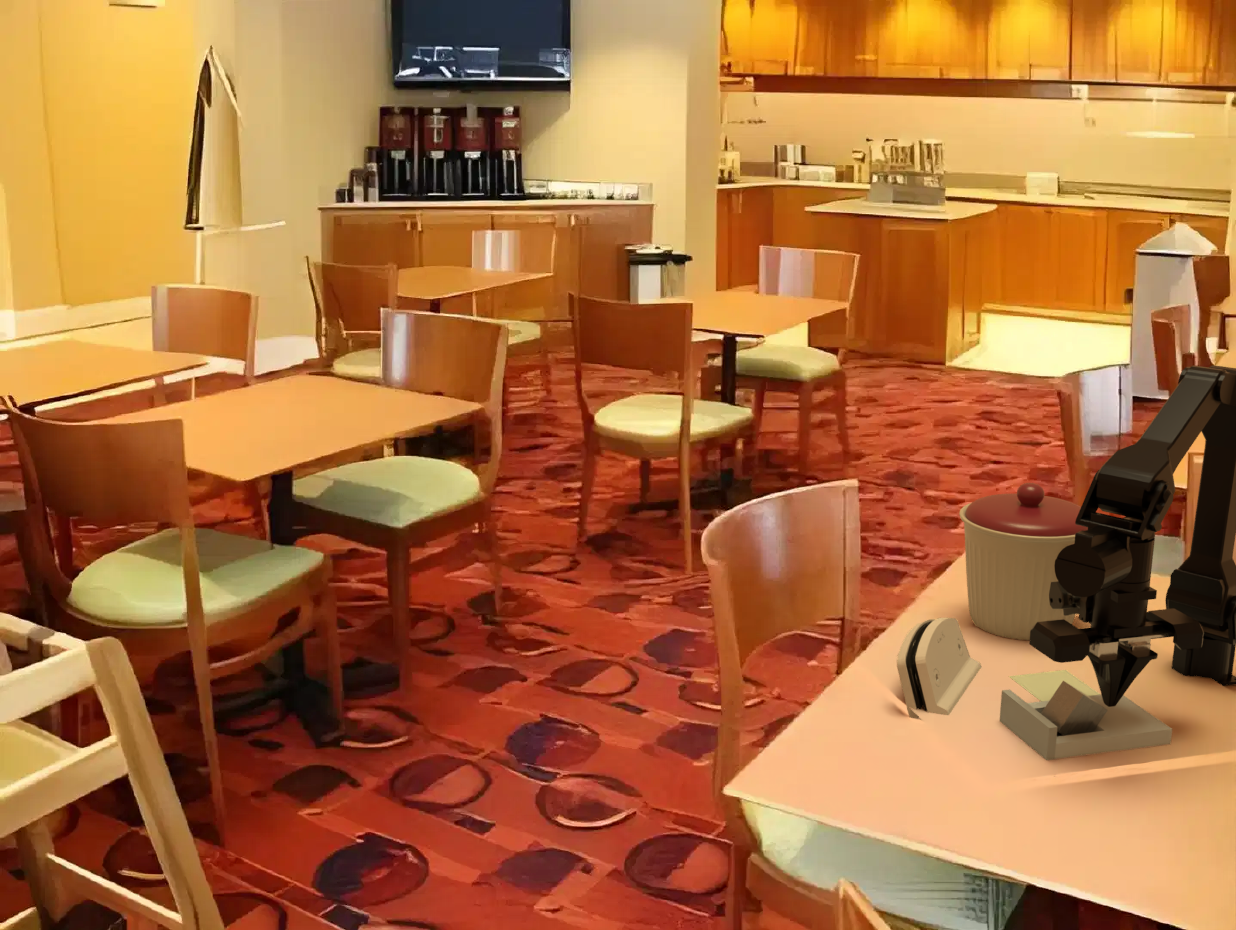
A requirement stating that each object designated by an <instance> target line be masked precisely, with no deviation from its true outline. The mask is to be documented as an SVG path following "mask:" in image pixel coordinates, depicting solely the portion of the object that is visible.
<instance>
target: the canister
mask: <svg viewBox="0 0 1236 930" xmlns="http://www.w3.org/2000/svg"><path fill="white" fill-rule="evenodd" d="M1081 506H1082V505H1078V504H1076V503H1074V502H1072V501H1069V500H1065V499H1062V498H1059V497H1053V496H1047V495H1045V490H1044V488H1043V487H1042V486H1041V485H1040V484H1039V483H1034V482H1025V483H1024V482H1023V483H1022V484H1021V485H1019V486H1018V488H1017V491H1016V493H1001V494H1000V493H999V494H997V493H996V494H991V495H987V496H983V497H980V498H978V499H975V500H974V501H972V502H970V503H967V504H965V505H963V507H962V508H960V510H959V512H958V513H959V514H958V515H959V517H960V519H961V521H962V522H963V524H964V526H963V527H964V529H963V530H964V531H963V532H964V546H965V547H964V548H965V569H966V570H965V571H966V572H965V573H966V587H967V588H966V589H967V601H968V602H967V603H968V609H969V610H968V611H969V616H970V618H971V620H972V622H973V624H974V627H976V628H977V627H978V628H979V629H980V630H983V631H984V632H987V633H989V634H992V635H995V636H996V637H997V636H998V637H1000V638H1001V637H1002V638H1005V639H1011V640H1012V639H1013V640H1018V641H1021V640H1022V641H1030V631H1031V628H1032V626H1034V625H1035V624H1036V623H1037V622H1042V621H1052V620H1062V619H1064V620H1066V621H1067V622H1069V623H1070V624H1072V625H1073V623H1074V621H1075V617H1076V614H1072V615H1068V616H1064V613H1063V609H1052V607H1051V606H1050V602H1049V591H1050V585H1051V582H1056V581H1058V580H1057V578H1056V574H1055V567H1054V564H1055V560H1056V559H1057V556H1058V554H1059V553H1060V552H1061V550H1062V549H1063V548H1065V547H1066V546H1068V545H1071V544H1073V543H1075V534H1076V533H1077V532H1080V531H1086V530H1088V527H1084V526H1080V525H1076V524H1075V521H1076V518H1077V516H1078V513H1079V511H1080V509H1081Z"/></svg>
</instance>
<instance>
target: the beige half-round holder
mask: <svg viewBox="0 0 1236 930" xmlns="http://www.w3.org/2000/svg"><path fill="white" fill-rule="evenodd" d="M959 623H960V622H959V621H958V619H957V618H956V617H938V618H936V619H935V618H933V619H926V620H924V621H921V622H920V623H917V624H915V625H914V626H913V627H912V628H911V629H910V630H909V631H908V632H907V634H906V635H905V636H904V639H903V641H902V642H901V645H900V648H899V651H898V653H897V654H898V655H897V656H896V657H897V658H896V668H897V673H898V676H899V681H900V684H901V689H902V693H903V698H904V701H905V704H906V710H907V713H908V717H909V718H911V719H919V718H920V716H919V714H917V713H916V712H915V711H914V710H922V709H923V710H924V711H926V712H927V713H931V714H935V715H945V716H950V714H951V713H952V711H953V710H954V709H955V707H956V705H957V704H958V702H959V701H960V700H961V698H962V697H963V695H964V694H965V692H966V691H967V689H968V688H969V686H970V685H971V683H972V682H973V680H974V679H975V678H976V676H977V675H978V673H979V671H980V670H981V668H982V664H981V663H980V661H978V660H976V659H975V658H973V657H971V655H970V652H969V649H968V646H967V643H966V641H965V638H964V635H963V632H962V630H961V627H960V624H959ZM913 709H914V710H913Z"/></svg>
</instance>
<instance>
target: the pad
mask: <svg viewBox="0 0 1236 930" xmlns="http://www.w3.org/2000/svg"><path fill="white" fill-rule="evenodd" d="M1008 677H1009V678H1010V679H1011V680H1013V681H1014V682H1015V683H1016V684H1018V685H1019V686H1020V687H1022V688H1023V689H1024V690H1026V691H1027V692H1028V693H1030V694H1031V695H1032V697H1034V698H1036V699H1037V700H1039V702H1041V701H1049V700H1050V699H1051V698H1052V696H1053V695H1054V693H1055V692H1056V690H1057V689H1058V687H1059V686H1060V684H1061V683H1062V681H1065V682H1066V683H1068V684H1070V685H1071V686H1073V687H1074V688H1076V689H1078V690H1079V691H1081V692H1082V693H1084V694H1086V695H1087V696H1091V695H1100V694H1101V692H1098V691H1097V690H1096V689H1094V688H1092V687H1091V686H1090V685H1088V684H1087V683H1086V682H1084V681H1082V680H1081V679H1079V677H1077V676H1076V675H1074V674H1073V673H1071V672H1069V670H1067V669H1061V670H1053V671H1043V672H1034V673H1026V674H1018V675H1017V674H1016V675H1009V676H1008Z"/></svg>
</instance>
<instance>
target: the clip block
mask: <svg viewBox="0 0 1236 930" xmlns="http://www.w3.org/2000/svg"><path fill="white" fill-rule="evenodd" d="M1107 711H1108V710H1107V709H1106V708H1105V707H1103V706H1102V705H1100V704H1099V703H1097V702H1096V701H1094V700H1093V699H1092V698H1090V697H1089V696H1087V695H1086V694H1084V693H1082V692H1081V691H1079V690H1078V689H1076V688H1074V687H1073V686H1071V685H1070V684H1068V683H1066V682H1065V681H1062V683H1061V684H1060V686H1059V687H1058V689H1057V690H1056V692H1055V693H1054V695H1053V696H1052V698H1051V699H1050V701H1049V702H1048V704H1047V705H1046V707H1045V708H1044V710H1043V711H1042V712H1041V714H1042V715H1043V716H1044V717H1046V718H1047V719H1048V720H1049V721H1051V722H1052V723H1053V724H1054V725H1056V726H1057V733H1059V734H1061V736H1066V735H1074V734H1082V733H1090V732H1093V731H1094V730H1095V728H1096V727H1097V725H1098V724H1099V722H1100V721H1101V719H1102V718H1103V717H1104V715H1105V714H1106V712H1107Z"/></svg>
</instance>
